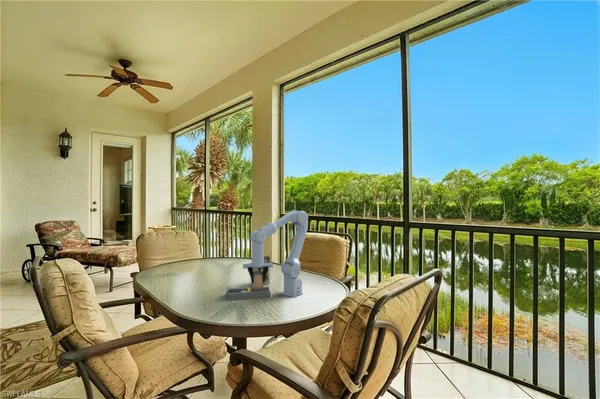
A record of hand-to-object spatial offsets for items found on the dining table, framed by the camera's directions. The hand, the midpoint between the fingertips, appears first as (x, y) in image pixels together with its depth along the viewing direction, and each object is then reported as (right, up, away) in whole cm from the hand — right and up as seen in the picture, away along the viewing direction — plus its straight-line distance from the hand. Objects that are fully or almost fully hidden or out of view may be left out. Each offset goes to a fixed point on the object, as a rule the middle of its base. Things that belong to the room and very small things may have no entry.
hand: (257, 282), depth 146 cm
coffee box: (-2, -9, +27) cm, 28 cm away
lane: (-6, -9, +6) cm, 12 cm away
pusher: (-7, -7, +6) cm, 12 cm away
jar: (0, -2, 0) cm, 2 cm away
